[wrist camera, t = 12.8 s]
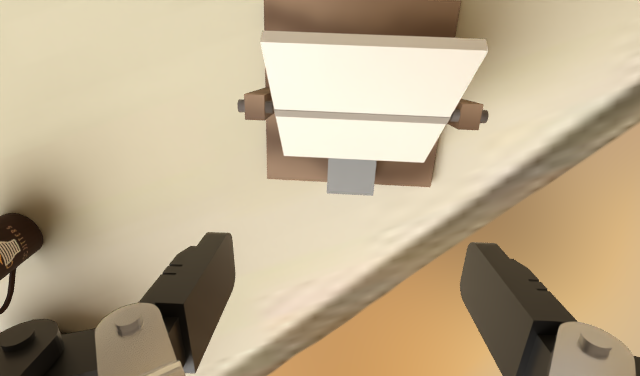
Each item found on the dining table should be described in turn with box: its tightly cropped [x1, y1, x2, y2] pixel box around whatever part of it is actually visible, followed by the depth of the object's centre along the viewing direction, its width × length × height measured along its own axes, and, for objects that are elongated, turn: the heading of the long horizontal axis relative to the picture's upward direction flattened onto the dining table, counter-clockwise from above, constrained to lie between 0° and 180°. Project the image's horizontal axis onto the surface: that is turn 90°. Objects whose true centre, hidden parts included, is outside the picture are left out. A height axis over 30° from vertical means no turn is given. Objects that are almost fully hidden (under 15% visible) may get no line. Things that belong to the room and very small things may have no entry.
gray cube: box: [327, 158, 377, 196], centre depth 37 cm, size 5×5×5 cm
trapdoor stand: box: [238, 0, 488, 187], centre depth 32 cm, size 20×20×13 cm
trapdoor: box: [260, 31, 488, 163], centre depth 27 cm, size 14×14×1 cm
